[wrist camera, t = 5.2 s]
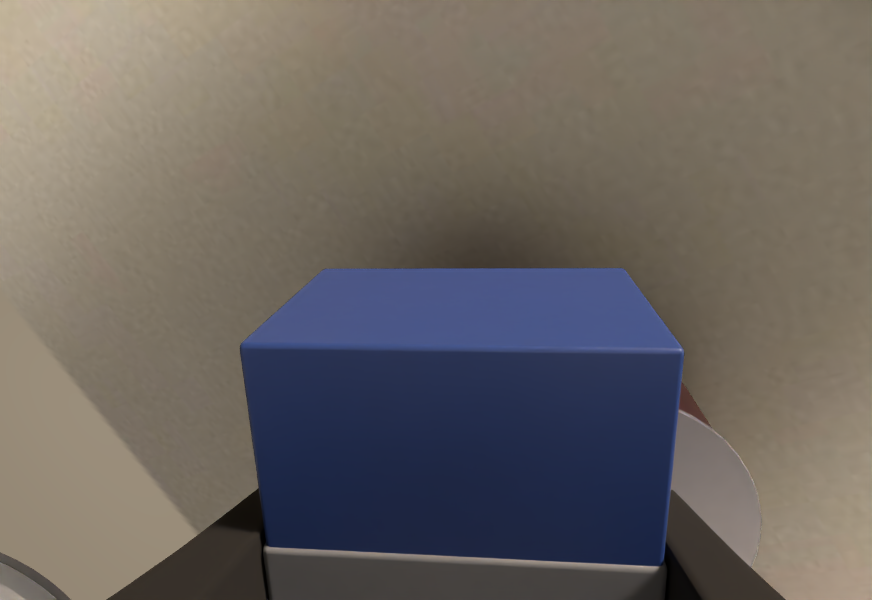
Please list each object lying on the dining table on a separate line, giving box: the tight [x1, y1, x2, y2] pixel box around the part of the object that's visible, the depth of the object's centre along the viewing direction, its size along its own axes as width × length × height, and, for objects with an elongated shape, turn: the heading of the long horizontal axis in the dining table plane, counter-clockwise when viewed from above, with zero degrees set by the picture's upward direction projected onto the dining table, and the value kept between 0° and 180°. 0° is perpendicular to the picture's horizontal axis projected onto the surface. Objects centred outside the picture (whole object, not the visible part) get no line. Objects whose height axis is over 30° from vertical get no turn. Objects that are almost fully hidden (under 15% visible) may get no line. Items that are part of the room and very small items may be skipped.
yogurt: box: [671, 381, 762, 567], centre depth 17 cm, size 7×7×6 cm
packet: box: [240, 268, 684, 600], centre depth 10 cm, size 8×5×4 cm, turn 2°
